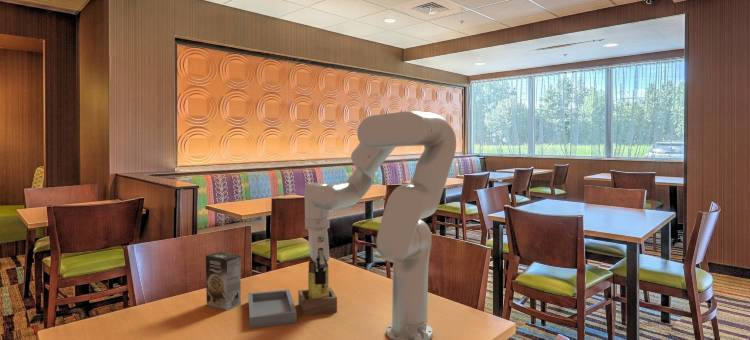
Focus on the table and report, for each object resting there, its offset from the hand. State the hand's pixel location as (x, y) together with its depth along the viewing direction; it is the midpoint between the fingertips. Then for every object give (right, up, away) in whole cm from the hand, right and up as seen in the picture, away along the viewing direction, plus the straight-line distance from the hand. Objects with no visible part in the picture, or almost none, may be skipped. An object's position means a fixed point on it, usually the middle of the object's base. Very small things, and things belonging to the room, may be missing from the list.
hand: (318, 279), depth 136 cm
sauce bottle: (0, -8, +1) cm, 8 cm away
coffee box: (-30, -9, +3) cm, 32 cm away
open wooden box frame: (0, -9, +1) cm, 9 cm away
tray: (-14, -9, -2) cm, 17 cm away
